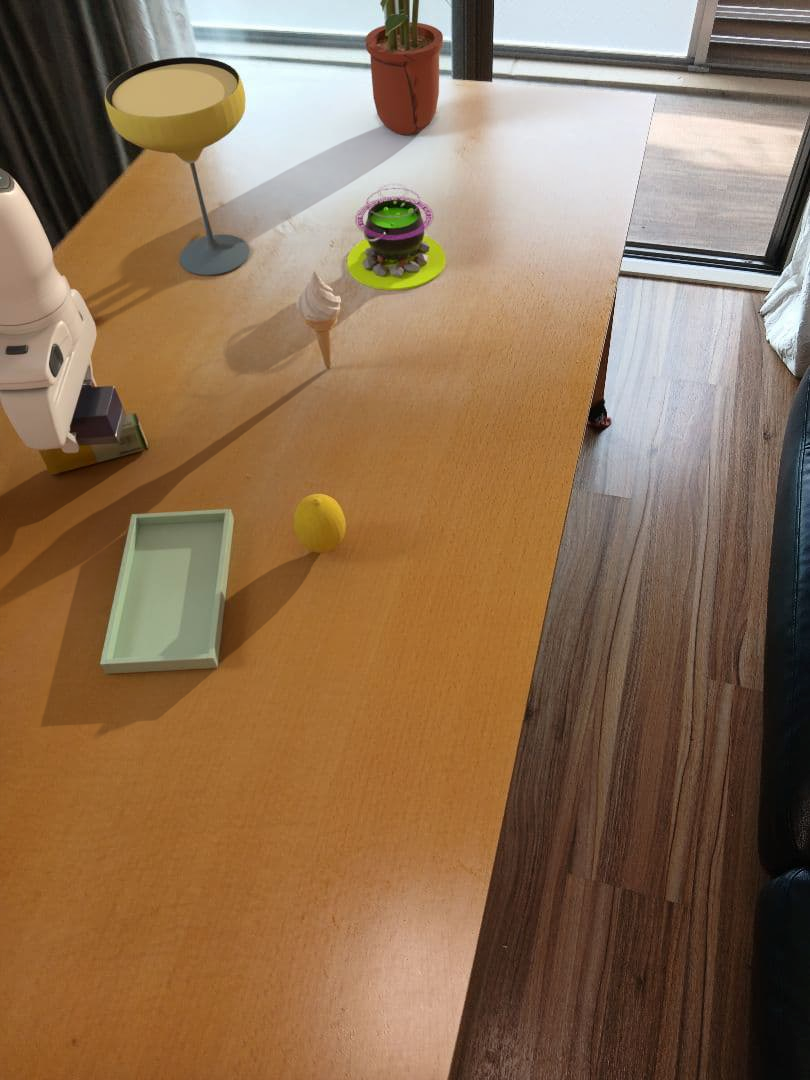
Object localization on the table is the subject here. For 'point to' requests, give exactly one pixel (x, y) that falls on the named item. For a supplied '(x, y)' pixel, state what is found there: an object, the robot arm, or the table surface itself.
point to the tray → (170, 593)
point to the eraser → (98, 416)
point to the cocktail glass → (183, 132)
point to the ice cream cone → (319, 312)
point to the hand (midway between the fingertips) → (81, 419)
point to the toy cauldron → (395, 246)
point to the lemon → (319, 523)
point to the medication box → (98, 449)
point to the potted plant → (404, 68)
